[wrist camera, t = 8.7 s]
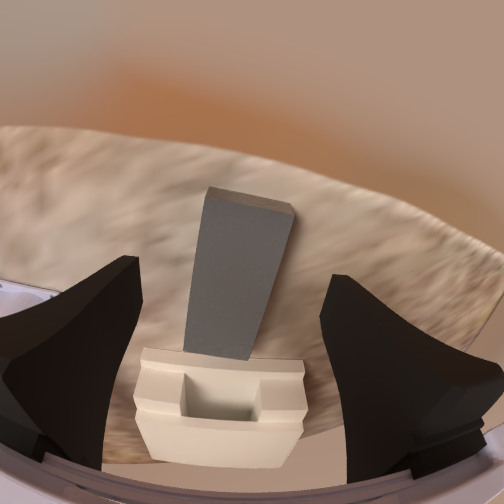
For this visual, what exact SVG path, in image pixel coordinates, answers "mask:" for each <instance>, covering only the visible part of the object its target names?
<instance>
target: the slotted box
mask: <svg viewBox="0 0 504 504" xmlns="http://www.w3.org/2000/svg"><path fill="white" fill-rule="evenodd" d="M140 362H141V366H142V367H141V371H140V374H139V377H138V381H137V384H136V388H135V391H134V395H133V398H134V401H135V404H136V407H137V412H136V416H135V420H136V423H137V425H138V427H139V430H140V432H141V435H142V437H143V439H144V442H145V444H146V446H147V448H148V450H149V453H150V455H151V457H152V459H155V460H161V461H168V462H174V463H182V464H190V465H200V466H212V467H225V468H226V467H227V468H281V466H282V465H283V463H284V461H285V460H286V458H287V457H288V455H289V454H290V452H291V451H292V449H293V448H294V446H295V444H296V443H297V441H298V439H299V438H300V436H301V434H302V433H303V431H304V429H303V423H302V421H303V419H304V417H305V415H306V413H307V411H308V405H307V400H306V395H305V389H304V384H303V377H304V375H305V368H304V364H303V360H284V359H258V358H249V360H248V361H244V360H236V359H229V358H222V357H215V356H209V355H203V354H194V353H185V352H177V351H169V350H161V349H154V348H147V347H144V349H143V352H142V355H141V358H140Z"/></svg>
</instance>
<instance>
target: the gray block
mask: <svg viewBox="0 0 504 504" xmlns="http://www.w3.org/2000/svg"><path fill="white" fill-rule="evenodd" d="M294 217H295V214H294V212H293V210H292V208H291V206H290V203H286V202H282V201H277V200H273V199H268V198H263V197H259V196H254V195H249V194H244V193H239V192H234V191H229V190H224V189H219V188H214V187H209V188H208V191H207V193H206V196H205V201H204V206H203V212H202V218H201V224H200V230H199V236H198V242H197V248H196V255H195V261H194V268H193V275H192V282H191V290H190V297H189V305H188V313H187V321H186V329H185V338H184V347H183V351H185V352H191V353H197V354H203V355H209V356H215V357H222V358H229V359H236V360H244V361H248V360H249V357H250V354H251V351H252V348H253V345H254V342H255V339H256V336H257V333H258V330H259V327H260V324H261V321H262V318H263V315H264V312H265V309H266V306H267V303H268V300H269V297H270V294H271V291H272V288H273V285H274V282H275V278H276V275H277V272H278V269H279V266H280V263H281V260H282V256H283V253H284V250H285V247H286V244H287V240H288V237H289V234H290V231H291V227H292V224H293V221H294Z"/></svg>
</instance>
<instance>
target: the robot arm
mask: <svg viewBox="0 0 504 504" xmlns="http://www.w3.org/2000/svg"><path fill="white" fill-rule="evenodd" d="M142 304H143V297H142V288H141V277H140V266H139V257H135V256H126V255H124V256H121V257H120V258H118V259H116V260H114V261H113V262H111V263H110V264H108V265H106V266H105V267H103V268H102V269H100V270H99V271H97V272H95V273H94V274H92V275H91V276H89V277H88V278H86V279H84V280H83V281H81V282H79V283H78V284H76V285H74V286H73V287H71V288H69V289H68V290H66V291H64V292H62V293H59V292H57V291H52V290H46V289H41V288H37V287H32V286H27V285H22V284H18V283H13V282H9V281H5V280H1V279H0V504H119V503H116V502H113V501H110V500H108V499H111V500H114V501H118V502H122V503H126V504H486V503H488V502H489V501H490V500H492V499H493V498H494V497H496V496H497V495H498V494H499V493H501V492H502V491H503V490H504V422H503V423H502V424H500V425H498V426H496V427H494V428H492V429H490V430H489V431H487V432H486V433H484V434H482V432H481V430H480V428H482V427H483V426H484V422H483V420H482V418H481V417H482V416H483V415H484V414H485V413H486V412H487V411H488V410H489V409H490V408H491V407H492V406H493V404H494V403H495V402H496V401H497V400H498V398H499V397H500V396H501V395H502V394H503V392H504V372H503V370H502V368H501V367H500V366H499V365H498V364H497V363H494V362H491V361H487V360H484V359H481V358H478V357H474V356H472V355H469V354H467V353H464V352H462V351H459V350H457V349H455V348H453V347H451V346H448V345H446V344H444V343H443V342H441V341H439V340H437V339H435V338H433V337H431V336H429V335H428V334H426V333H424V332H423V331H421V330H420V329H418V328H416V327H415V326H413V325H412V324H410V323H409V322H407V321H406V320H404V319H403V318H402V317H400V316H399V315H398V314H396V313H395V312H394V311H392V310H391V309H390V308H388V307H387V306H386V305H385V304H383V303H382V302H381V301H380V300H378V299H377V298H376V297H375V296H374V295H372V294H371V293H370V292H369V291H367V290H366V289H365V288H364V287H363V286H361V285H360V284H359V283H357V282H356V281H355V280H353V279H352V278H351V277H349V276H347V275H337V274H332V278H331V281H330V284H329V288H328V291H327V294H326V297H325V300H324V304H323V307H322V310H321V313H320V316H319V317H320V323H321V330H322V335H323V340H324V343H325V346H326V350H327V353H328V356H329V359H330V363H331V366H332V369H333V372H334V375H335V379H336V382H337V385H338V390H339V394H340V399H341V406H342V412H343V419H344V427H345V438H346V452H347V484H345V485H339V486H333V487H327V488H319V489H311V490H301V491H289V492H269V493H232V492H231V493H230V492H214V491H200V490H191V489H183V488H175V487H169V486H162V485H157V484H151V483H146V482H141V481H136V480H132V479H128V478H123V477H119V476H115V475H112V474H108V473H105V472H101V466H102V451H103V441H104V433H105V426H106V419H107V414H108V408H109V403H110V398H111V394H112V390H113V386H114V382H115V378H116V375H117V372H118V369H119V366H120V364H121V361H122V359H123V356H124V354H125V351H126V349H127V346H128V344H129V342H130V339H131V337H132V334H133V332H134V330H135V327H136V325H137V322H138V318H139V315H140V311H141V307H142ZM100 496H101V497H100ZM102 497H104V498H102ZM105 498H108V499H105Z"/></svg>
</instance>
